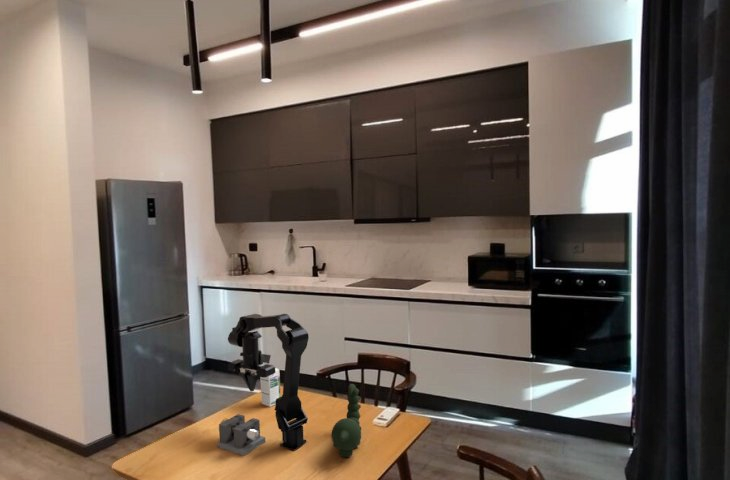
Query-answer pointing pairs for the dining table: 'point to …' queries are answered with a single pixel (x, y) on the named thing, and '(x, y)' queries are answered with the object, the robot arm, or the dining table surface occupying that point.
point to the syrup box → (270, 388)
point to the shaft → (249, 433)
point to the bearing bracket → (239, 435)
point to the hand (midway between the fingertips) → (252, 391)
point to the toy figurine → (348, 426)
